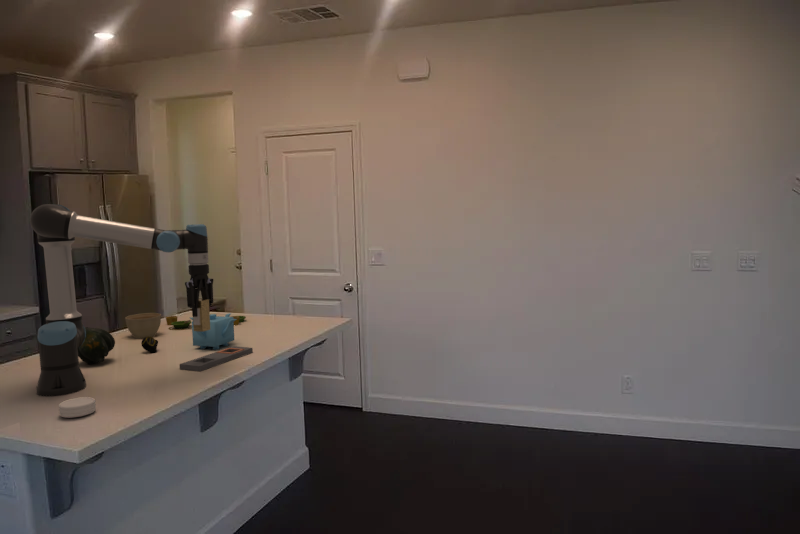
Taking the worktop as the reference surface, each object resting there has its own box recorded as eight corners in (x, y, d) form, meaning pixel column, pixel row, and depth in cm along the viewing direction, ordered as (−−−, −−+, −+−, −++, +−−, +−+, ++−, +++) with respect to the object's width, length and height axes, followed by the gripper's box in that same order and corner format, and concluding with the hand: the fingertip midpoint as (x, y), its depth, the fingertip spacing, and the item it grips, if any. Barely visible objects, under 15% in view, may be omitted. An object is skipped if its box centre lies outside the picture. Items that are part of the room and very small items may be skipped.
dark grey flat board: (200, 371, 230) (199, 365, 229) (179, 369, 234) (179, 363, 233) (252, 352, 259) (252, 347, 258) (233, 350, 263) (233, 345, 262)
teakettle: (196, 353, 260) (194, 319, 258) (190, 345, 277) (188, 313, 275) (240, 348, 268) (239, 315, 267) (232, 340, 285) (230, 309, 284)
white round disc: (58, 411, 187) (57, 400, 186) (94, 405, 192) (93, 394, 192) (60, 420, 178) (59, 409, 178) (97, 413, 184) (96, 402, 183)
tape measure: (152, 355, 263) (157, 350, 262) (138, 348, 260) (143, 342, 259) (155, 346, 269) (160, 340, 268) (141, 338, 265) (146, 333, 264)
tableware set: (155, 333, 310) (154, 321, 309) (173, 323, 337) (173, 312, 337) (236, 330, 311) (235, 318, 310) (248, 321, 338) (247, 309, 338)
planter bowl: (123, 337, 298) (121, 315, 297) (157, 333, 308) (155, 311, 307) (131, 342, 285) (129, 320, 284) (166, 337, 295) (165, 315, 294)
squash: (75, 369, 238) (72, 331, 236) (79, 361, 251) (76, 325, 250) (114, 365, 243) (112, 328, 242) (117, 357, 257) (114, 322, 255)
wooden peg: (202, 331, 235) (200, 300, 234) (193, 331, 236) (192, 300, 235) (210, 329, 239) (208, 299, 238) (201, 328, 240) (199, 298, 239)
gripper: (190, 266, 226) (193, 328, 228) (221, 262, 242) (224, 320, 244) (174, 265, 229) (177, 327, 231) (206, 262, 245) (209, 319, 247)
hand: (201, 323), depth 237 cm, fingers closed on wooden peg, 4 cm apart
